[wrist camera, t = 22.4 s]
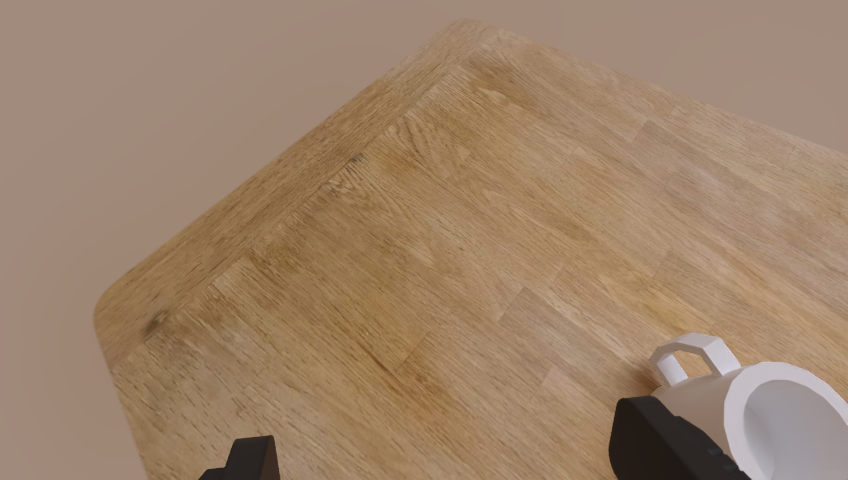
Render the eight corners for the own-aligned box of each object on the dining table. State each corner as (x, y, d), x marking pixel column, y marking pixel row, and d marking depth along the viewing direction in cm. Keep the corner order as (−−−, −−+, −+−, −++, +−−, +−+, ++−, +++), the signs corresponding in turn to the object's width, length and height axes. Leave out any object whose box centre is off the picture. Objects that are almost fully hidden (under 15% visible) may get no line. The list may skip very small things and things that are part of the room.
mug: (593, 378, 40) (661, 356, 30) (675, 331, 43) (761, 297, 33) (689, 535, 35) (805, 567, 26) (775, 471, 38) (909, 479, 28)
